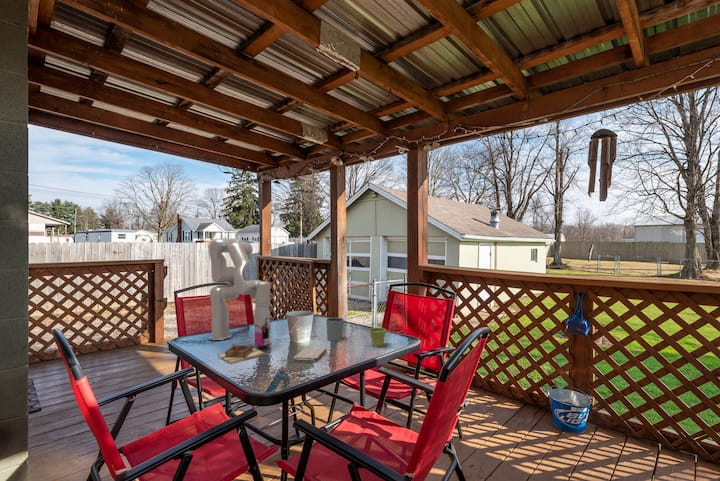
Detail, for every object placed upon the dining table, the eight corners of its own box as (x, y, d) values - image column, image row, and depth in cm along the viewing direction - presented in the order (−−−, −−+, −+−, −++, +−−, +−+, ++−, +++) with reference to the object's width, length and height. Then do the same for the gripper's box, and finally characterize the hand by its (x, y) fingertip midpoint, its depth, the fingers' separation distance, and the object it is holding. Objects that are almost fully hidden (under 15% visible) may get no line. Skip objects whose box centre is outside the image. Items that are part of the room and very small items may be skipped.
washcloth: (291, 363, 161) (291, 356, 161) (305, 351, 178) (305, 345, 178) (315, 364, 158) (315, 358, 158) (326, 352, 176) (326, 346, 176)
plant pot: (380, 349, 179) (380, 332, 179) (365, 346, 185) (365, 330, 185) (389, 345, 187) (389, 329, 187) (375, 342, 192) (375, 326, 193)
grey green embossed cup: (324, 338, 201) (323, 318, 201) (339, 336, 205) (339, 316, 205) (329, 342, 192) (329, 321, 192) (346, 340, 196) (346, 319, 196)
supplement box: (262, 342, 188) (262, 322, 188) (270, 344, 185) (270, 323, 185) (254, 345, 183) (254, 324, 183) (261, 347, 180) (262, 325, 180)
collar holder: (217, 356, 170) (217, 348, 170) (251, 348, 183) (250, 340, 183) (230, 364, 159) (230, 355, 159) (265, 355, 171) (265, 347, 171)
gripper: (248, 302, 187) (248, 335, 187) (263, 307, 175) (263, 342, 175) (261, 301, 193) (260, 332, 193) (276, 305, 180) (276, 339, 180)
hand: (262, 336), depth 184 cm, fingers closed on supplement box, 6 cm apart
